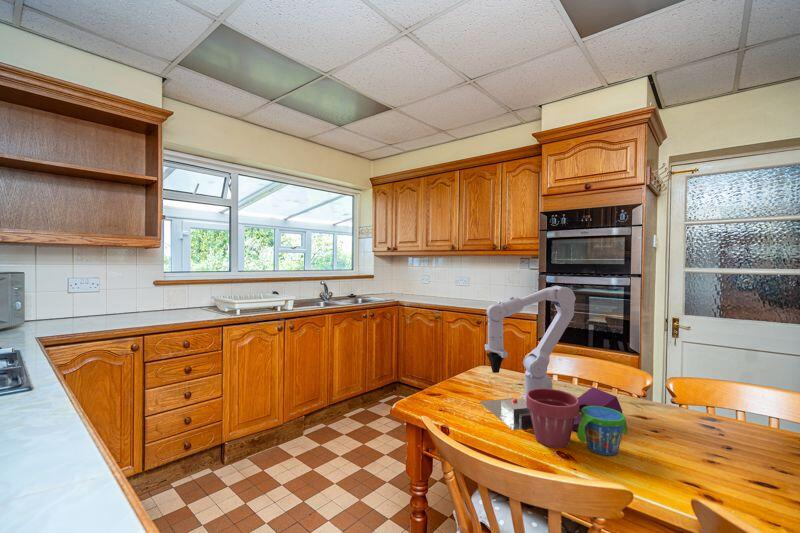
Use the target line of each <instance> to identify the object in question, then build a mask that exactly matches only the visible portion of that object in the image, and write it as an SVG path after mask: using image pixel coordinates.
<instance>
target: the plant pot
mask: <svg viewBox="0 0 800 533" xmlns="http://www.w3.org/2000/svg"><path fill="white" fill-rule="evenodd" d="M525 401H526V406H527V408H528V409H529V410H530V415H531V420H532V424H533V428H532V429H533V433H534V438H535V440H536V441H537V442H538V443H540V444H541V445H543V446H546V447H550V448H556V449H557V448H559V449H560V448H561V449H562V448H566V447H568V446H569V444H570V441H571V437H572V434H573V430H572V429H573V425H574V421H575V418H576V417H577V416H579V415H580V413H579V400H578V397H577V396H575V395H574V394H572V393H570V392H567V391H564V390H561V389H554V388H553V389H546V388H538V389H532V390H530V391H528V392H527V397H526V399H525Z"/></svg>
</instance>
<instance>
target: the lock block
mask: <svg viewBox="0 0 800 533" xmlns="http://www.w3.org/2000/svg"><path fill="white" fill-rule="evenodd" d="M501 413H502V414H504V415H505V416H506V417H507V418H509V419H510V420H511V421H512V422H518V414H522V413H530V410H529V409H528V408H527V406H526V399H524V398H523V397H521V398H514V399H510V400H501Z"/></svg>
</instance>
